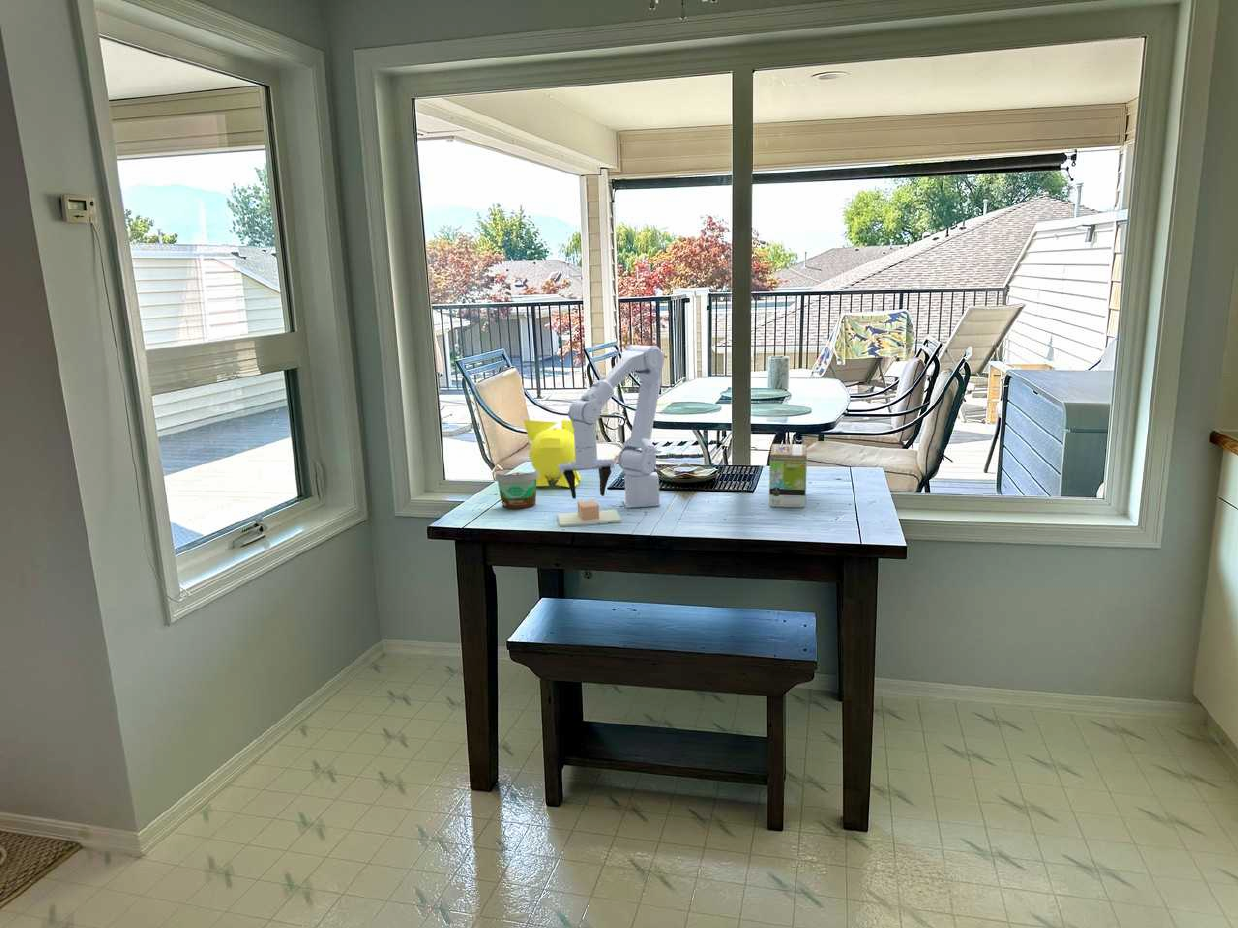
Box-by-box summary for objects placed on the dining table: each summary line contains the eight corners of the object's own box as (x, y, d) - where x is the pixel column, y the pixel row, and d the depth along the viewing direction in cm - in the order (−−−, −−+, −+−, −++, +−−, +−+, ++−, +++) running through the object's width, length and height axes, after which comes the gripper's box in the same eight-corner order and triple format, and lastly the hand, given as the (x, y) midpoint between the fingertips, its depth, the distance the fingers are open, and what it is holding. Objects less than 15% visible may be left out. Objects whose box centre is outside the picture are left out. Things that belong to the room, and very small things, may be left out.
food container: (498, 512, 242) (496, 477, 240) (497, 506, 248) (494, 472, 246) (542, 508, 245) (540, 473, 242) (540, 502, 250) (538, 468, 248)
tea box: (806, 508, 235) (807, 454, 232) (768, 507, 238) (768, 454, 234) (806, 493, 250) (806, 442, 246) (770, 492, 252) (770, 442, 248)
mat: (616, 511, 239) (616, 509, 239) (621, 521, 229) (621, 519, 229) (557, 515, 237) (557, 513, 237) (560, 526, 227) (560, 524, 227)
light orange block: (599, 518, 231) (598, 505, 230) (582, 520, 230) (581, 507, 229) (594, 512, 237) (593, 500, 236) (578, 514, 236) (577, 501, 235)
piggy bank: (592, 474, 281) (589, 415, 277) (583, 490, 262) (580, 427, 258) (531, 475, 284) (527, 416, 279) (518, 490, 265) (514, 428, 260)
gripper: (609, 440, 234) (611, 489, 237) (555, 445, 231) (558, 495, 234) (615, 445, 227) (617, 496, 230) (560, 450, 224) (563, 501, 227)
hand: (588, 496), depth 232 cm, fingers open, 7 cm apart
